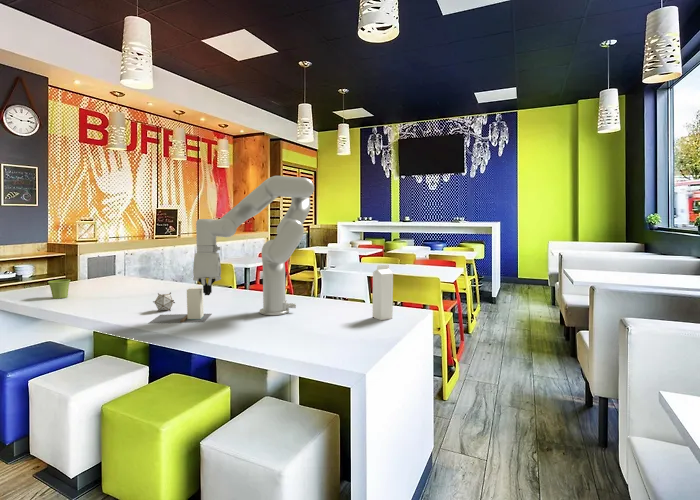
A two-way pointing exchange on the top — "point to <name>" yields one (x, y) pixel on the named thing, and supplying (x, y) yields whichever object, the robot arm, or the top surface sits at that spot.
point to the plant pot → (59, 288)
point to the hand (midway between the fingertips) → (207, 294)
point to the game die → (164, 302)
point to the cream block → (195, 303)
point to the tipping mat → (177, 319)
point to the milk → (382, 293)
